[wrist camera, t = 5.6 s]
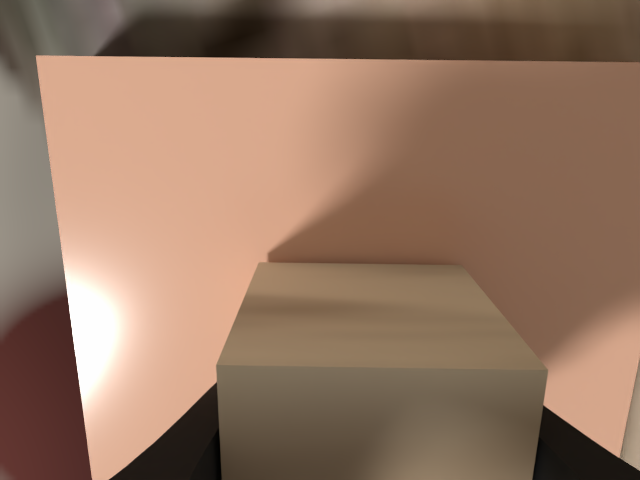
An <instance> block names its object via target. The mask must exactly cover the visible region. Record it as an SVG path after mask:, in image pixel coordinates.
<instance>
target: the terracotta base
mask: <svg viewBox="0 0 640 480" xmlns="http://www.w3.org/2000/svg"><path fill="white" fill-rule="evenodd" d="M36 60H37V68H38V75H39V83H40V90H41V98H42V105H43V113H44V120H45V128H46V135H47V143H48V150H49V158H50V165H51V173H52V179H53V188H54V195H55V203H56V210H57V217H58V225H59V233H60V240H61V248H62V256H63V263H64V270H65V278H66V286H67V293H68V300H69V308H70V316H71V323H72V330H73V338H74V346H75V353H76V360H77V368H78V376H79V383H80V391H81V398H82V406H83V413H84V420H85V428H86V436H87V443H88V451H89V458H90V466H91V473H92V480H109V479H110V478H112V477H113V476H114V475H116V474H117V473H118V472H119V471H121V470H122V469H123V468H125V467H126V466H127V465H128V464H129V463H131V462H132V461H133V460H134V459H135V458H136V457H138V456H139V455H140V454H141V453H142V452H143V451H145V450H146V449H147V448H148V447H149V446H151V445H152V444H153V443H154V442H155V441H156V440H157V439H158V438H159V437H161V436H162V435H163V434H164V433H165V432H166V431H167V430H168V429H169V428H170V427H171V426H172V425H173V424H174V423H175V422H176V421H177V420H179V419H180V418H181V417H182V416H183V415H184V414H185V413H186V412H187V411H188V410H189V409H190V408H191V407H192V406H193V405H194V404H195V403H196V402H197V401H198V400H199V399H200V398H201V397H202V396H203V395H204V394H205V393H206V392H207V391H208V390H209V389H210V388H211V387H212V386H213V385H214V384H215V383H216V382H217V373H216V364H217V362H218V359H219V357H220V354H221V352H222V350H223V347H224V345H225V342H226V340H227V338H228V335H229V333H230V330H231V328H232V326H233V323H234V321H235V318H236V316H237V313H238V311H239V309H240V306H241V304H242V301H243V299H244V297H245V294H246V292H247V289H248V287H249V284H250V282H251V280H252V277H253V275H254V272H255V270H256V268H257V265H258V263H259V262H274V263H346V264H417V265H462V266H463V267H464V269H465V270H466V271H467V272H468V273H469V275H470V276H471V277H472V278H473V279H474V281H475V282H476V283H477V284H478V285H479V287H480V288H481V289H482V290H483V292H484V293H485V294H486V295H487V296H488V298H489V299H490V300H491V301H492V302H493V304H494V305H495V306H496V307H497V308H498V310H499V311H500V312H501V313H502V315H503V316H504V317H505V318H506V319H507V321H508V322H509V323H510V324H511V325H512V327H513V328H514V329H515V330H516V332H517V333H518V334H519V335H520V336H521V338H522V339H523V340H524V341H525V342H526V344H527V345H528V346H529V347H530V348H531V350H532V351H533V352H534V353H535V355H536V356H537V357H538V358H539V359H540V361H541V362H542V363H543V364H544V365H545V367H546V368H547V369H548V377H547V383H546V390H545V397H544V404H543V405H544V406H545V407H547V408H548V409H549V410H551V411H552V412H554V413H555V414H556V415H558V416H559V417H561V418H562V419H563V420H565V421H566V422H568V423H569V424H570V425H572V426H573V427H575V428H576V429H577V430H579V431H580V432H582V433H583V434H585V435H586V436H587V437H589V438H590V439H592V440H593V441H595V442H596V443H598V444H599V445H601V446H602V447H603V448H605V449H606V450H608V451H609V452H611V453H612V454H614V455H615V456H617V457H618V458H619V457H620V452H621V447H622V442H623V437H624V432H625V428H626V423H627V418H628V413H629V408H630V403H631V398H632V393H633V388H634V383H635V378H636V373H637V368H638V363H639V359H640V62H572V61H480V60H389V59H298V58H206V57H115V56H36Z"/></svg>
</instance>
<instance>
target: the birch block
mask: <svg viewBox="0 0 640 480" xmlns="http://www.w3.org/2000/svg"><path fill="white" fill-rule="evenodd" d="M216 373H217V393H218V413H219V434H220V454H221V474H222V480H532V478H533V471H534V464H535V457H536V451H537V444H538V437H539V430H540V424H541V417H542V410H543V404H544V397H545V390H546V383H547V377H548V369H547V368H546V367H545V365H544V364H543V363H542V362H541V361H540V359H539V358H538V357H537V356H536V355H535V353H534V352H533V351H532V350H531V348H530V347H529V346H528V345H527V344H526V342H525V341H524V340H523V339H522V338H521V336H520V335H519V334H518V333H517V332H516V330H515V329H514V328H513V327H512V325H511V324H510V323H509V322H508V321H507V319H506V318H505V317H504V316H503V315H502V313H501V312H500V311H499V310H498V308H497V307H496V306H495V305H494V304H493V302H492V301H491V300H490V299H489V298H488V296H487V295H486V294H485V293H484V292H483V290H482V289H481V288H480V287H479V285H478V284H477V283H476V282H475V281H474V279H473V278H472V277H471V276H470V275H469V273H468V272H467V271H466V270H465V269H464V267H463V266H462V265H417V264H346V263H274V262H259V263H258V265H257V268H256V270H255V272H254V275H253V277H252V280H251V282H250V284H249V287H248V289H247V292H246V294H245V297H244V299H243V301H242V304H241V306H240V309H239V311H238V313H237V316H236V318H235V321H234V323H233V326H232V328H231V330H230V333H229V335H228V338H227V340H226V342H225V345H224V347H223V350H222V352H221V354H220V357H219V359H218V362H217V364H216Z"/></svg>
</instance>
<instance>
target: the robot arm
mask: <svg viewBox="0 0 640 480" xmlns="http://www.w3.org/2000/svg"><path fill="white" fill-rule="evenodd" d="M109 480H222V474H221V454H220V434H219V413H218V393H217V382H216V383H215V384H214V385H213V386H212V387H211V388H210V389H209V390H208V391H207V392H206V393H205V394H204V395H203V396H202V397H201V398H200V399H199V400H198V401H197V402H196V403H195V404H194V405H193V406H192V407H191V408H190V409H189V410H188V411H187V412H186V413H185V414H184V415H183V416H182V417H181V418H180V419H179V420H177V421H176V422H175V423H174V424H173V425H172V426H171V427H170V428H169V429H168V430H167V431H166V432H165V433H164V434H163V435H162V436H161V437H159V438H158V439H157V440H156V441H155V442H154V443H153V444H152V445H151V446H149V447H148V448H147V449H146V450H145V451H143V452H142V453H141V454H140V455H139V456H138V457H136V458H135V459H134V460H133V461H132V462H131V463H129V464H128V465H127V466H126V467H125V468H123V469H122V470H121V471H119V472H118V473H117V474H116V475H114V476H113V477H112V478H110V479H109ZM532 480H640V471H639V470H637V469H636V468H634V467H633V466H631V465H629V464H628V463H626V462H625V461H623V460H622V459H620V458H618V457H617V456H615V455H614V454H612V453H611V452H609V451H608V450H606V449H605V448H603V447H602V446H601V445H599V444H598V443H596V442H595V441H593V440H592V439H590V438H589V437H587V436H586V435H585V434H583V433H582V432H580V431H579V430H577V429H576V428H575V427H573V426H572V425H570V424H569V423H568V422H566V421H565V420H563V419H562V418H561V417H559V416H558V415H556V414H555V413H554V412H552V411H551V410H549V409H548V408H547V407H545V406H544V405H543V410H542V417H541V424H540V430H539V437H538V444H537V451H536V457H535V464H534V471H533V478H532Z"/></svg>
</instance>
